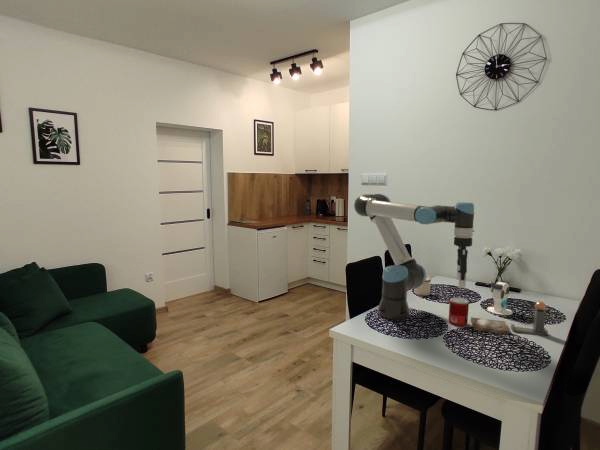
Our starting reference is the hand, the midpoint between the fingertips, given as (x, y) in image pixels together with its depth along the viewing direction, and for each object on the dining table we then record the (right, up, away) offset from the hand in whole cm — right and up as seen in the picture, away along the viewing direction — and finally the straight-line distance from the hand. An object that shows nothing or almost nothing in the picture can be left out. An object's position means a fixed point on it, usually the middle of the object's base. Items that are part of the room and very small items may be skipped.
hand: (460, 283), depth 168 cm
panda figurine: (+28, -17, +19) cm, 38 cm away
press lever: (+30, -19, -8) cm, 36 cm away
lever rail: (+27, -20, -7) cm, 34 cm away
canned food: (0, -19, +2) cm, 19 cm away
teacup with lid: (-3, -14, +49) cm, 50 cm away
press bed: (+12, -19, -2) cm, 23 cm away
